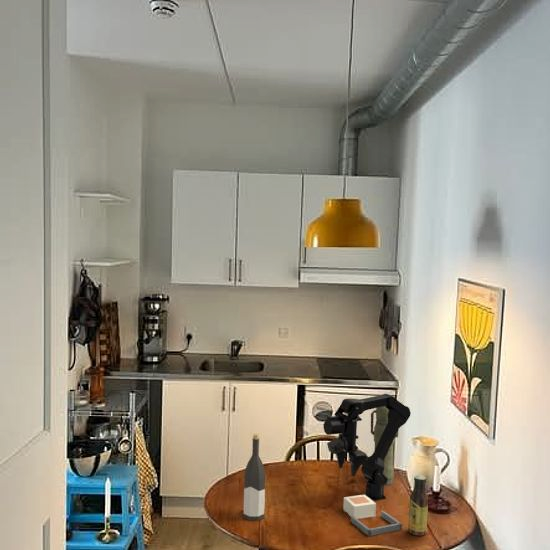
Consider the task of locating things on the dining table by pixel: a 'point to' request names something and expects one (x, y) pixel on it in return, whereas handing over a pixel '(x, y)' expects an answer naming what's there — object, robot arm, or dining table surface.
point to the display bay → (378, 530)
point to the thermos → (377, 433)
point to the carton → (359, 506)
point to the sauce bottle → (418, 507)
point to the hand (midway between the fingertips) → (346, 472)
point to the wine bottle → (254, 485)
